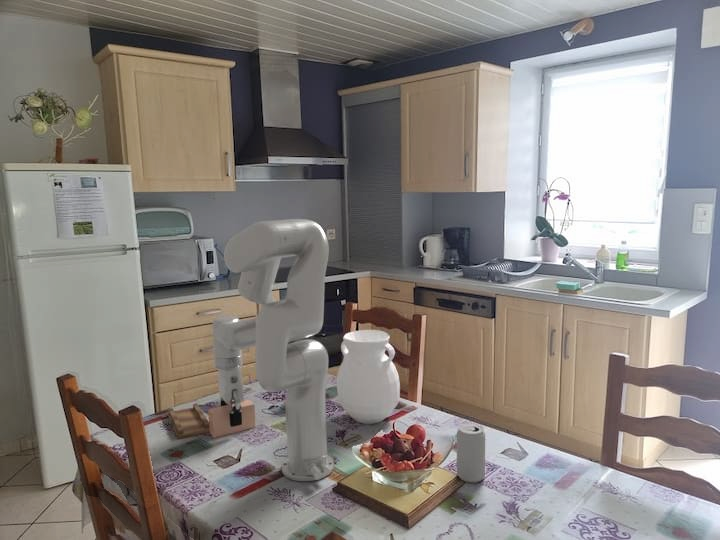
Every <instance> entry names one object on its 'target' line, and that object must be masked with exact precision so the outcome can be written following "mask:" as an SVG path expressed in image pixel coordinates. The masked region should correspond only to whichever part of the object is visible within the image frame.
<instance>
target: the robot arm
mask: <svg viewBox="0 0 720 540" xmlns="http://www.w3.org/2000/svg"><path fill="white" fill-rule="evenodd" d="M329 247H330V246H329V240H328V237H327V235H326V232H325V231H324V229H323V227H321V225H319V224H318V223H317V222H316V221H313V220H309V219H304V218H290V219H279V220H276V219H275V220H265V221H263V220H262V221H258V222H255V223H253V224H251V225H249V226H248V227H246V228H244V229H243V230H241V231H240V232H238V233H237V234H234V235H233V237H231V238H230V239H229V240H228V242H227V243H226V245H225V248H224V252H223V260H224V265H225V266H226V268H227V269H228V270H229V271H230V272H232V273H236V274H238V273H239V274H240V273H241V274H240V278H239V281H238V284H237V291H238V293H239V295H240V296H242V298H243V299H246V300H247V301H249V302H252V303H255V304H258V305H260V308H259V312H258V314H257V317H252V318H249V319H244V320H240V319H239V318H238V317H237V316H234V315H225V316H224V315H223V316H219V317H216V318H214V319H213V321H212V325H211V326H212V342H213V343H212V344H213V360H214V369H216V370H217V379H218V380H217V381H218V392H219V396H220V406H225V405H229V407H230V413H229V415H230V426H231V427H234V426H238V425H242V413H241V406H240V404H241V402H243V401H245V395H244V394H245V393H244V384H243V376H242V374H243V373H242V369H241V367H242V366H243V352H242V351H243V350H247V349H250V348H254V347H255V354H254V355H255V358H254V360H255V365H254V366H255V375H256V379H257V381H258V384H259V385H260V387H261V388H262V389H263V390H264V391H267V392H270V393H278V392H281V391H284V390H287V391H286V394H285V399H284V401H285V403H284V404H285V409H284V410H285V424H286V425H285V429H286V431H285V432H286V445H287V446H286V447H287V450H286V451H287V452H286V453H287V458H285V459H284V460H283V461H282V464H281V473H282V475H284V477H286V478H287V479H289V480H292V481H296V482H313V481H318V480H321V479H323V478H325V477H327V476H328V475H330V474H331V473H332V472H333V471H334V468H335V461H334V459H333V458H332V456H330V455H328V439H327V437H328V436H327V411H326V410H327V408H326V407H327V406H326V405H327V404H326V387H327V386H326V385H327V376H328V371H329V370H328V369H329V353H328V351H327V348H326V347H325V346H324V345H323V344H322V343H321V342H320V341H318V340H315V339H307V338H310V337H313V336H315V335H317V334H319V332H321V330H322V327H323V325H324V314H325V290H326V289H325V284H326V283H325V282H326V281H325V280H326V278H325V277H326V274H327V273H326V272H327V266H328V262H329V256H330V255H329V254H330V253H329V252H330V248H329ZM290 257H296V260H295V261H294V262H293V264H292V266H291V269H289V273H288V276H287V279H286V296H285V298H284V299H282V300H277V301H276V299H275V297H274V296H273V295H272V291H273V289H274V284H275V281H276V278H277V273H278V272H279V267H280V263H281V261H282V258H290ZM233 404H235V406H234V407H232V405H233Z"/></svg>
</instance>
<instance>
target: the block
mask: <svg viewBox="0 0 720 540" xmlns="http://www.w3.org/2000/svg"><path fill="white" fill-rule="evenodd" d="M234 406H235V404H233V405H232V407H234ZM240 406H241V413H242V425H238V426H234V427H231V426H230V415H229V413H230V407H229V405H225V406H221V405H220V406H217V407H212V408H208V409H207V411H208V413H207V414H208V422H209V429H210V432H209V434H210V435H211V436H212V438H213V439H216V438H220V437H224V436H226V435H230V434H235V433H239V432H242V431H247V430H249V429H253V428H256V414H255V413H256V412H255V403H254V402H253V401H251V400H250V399H248V400H247V399H246V400H244V401H243V402H241V404H240Z"/></svg>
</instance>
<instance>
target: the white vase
mask: <svg viewBox="0 0 720 540" xmlns="http://www.w3.org/2000/svg"><path fill="white" fill-rule="evenodd" d="M342 339H343V341H342V342H341V345H340V350H341V352H342V353H341V354H342V355H343V360H342V362H341V363H340V366H339V367H338V370H337V375H336V390H337V397H338V399H339V402H340V405H341V408H342V409H343V410H344V412H346V414H347V415H349V416H350V417H351V418H352V419H353V420H355V421H356V422H357V423H360V424H367V425H369V424H371V425H372V424H377V423H380V422H382V421H384V420H385V419H386V418H387V417H389V415H391V413H393V411H394V410H395V408H396V407H397V406H398V404H399V401H400V397H401V396H400V395H401V393H400V392H401V384H400V383H401V382H400V376H399V373H398V370H397V368H396V365H395V363H394V362H393V359H394V357H395V354H396V351H395V348H394V347H393V346H392V345H391V344H390V343H389V341H390V335H389V333H387V332H386V331H383V330H381V329H380V330H379V329H362V330H361V329H359V330H355V331H354V330H353V331H351V332H347V333H345V334H344V336H343V337H342ZM386 351H387V353H388V355H387V354H386Z"/></svg>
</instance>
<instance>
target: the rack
mask: <svg viewBox="0 0 720 540" xmlns="http://www.w3.org/2000/svg"><path fill="white" fill-rule="evenodd" d="M205 415H206V414H204V413H203V411H202V409H201V407H200V406H199V404H198V403H193V404H192V407H189V408H184V409H183V408H182V409H178V410H174V408H169V409H168V412H167V417H168V419H169V421H170V424H171V426H172V427H173V430H174V432H175V435H176V437H177V439H178V440H180V439H184V438H189V437H192V436H193V437H194V436H197V435H203V434H206V433H210V429H209V419H207V418H206V416H205Z"/></svg>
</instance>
